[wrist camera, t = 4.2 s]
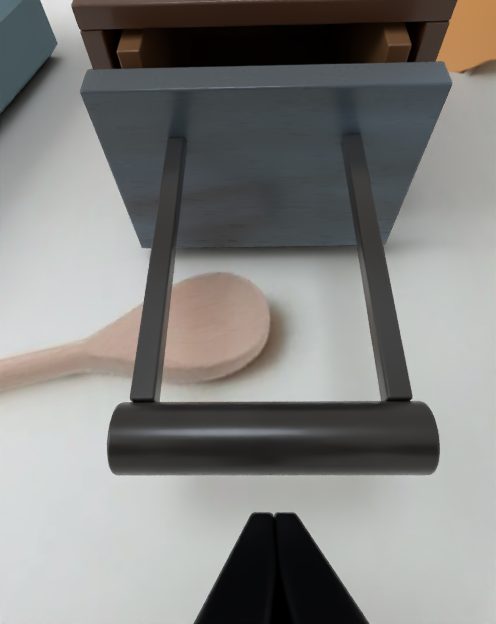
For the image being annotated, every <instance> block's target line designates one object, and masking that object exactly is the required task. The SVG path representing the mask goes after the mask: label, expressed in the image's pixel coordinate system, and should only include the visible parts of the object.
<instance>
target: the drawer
mask: <svg viewBox="0 0 496 624" xmlns="http://www.w3.org/2000/svg"><path fill="white" fill-rule="evenodd" d="M410 49H411V41H410V38H409V35H408V32H407V29H406V26H405V23H404V22H385V23H345V24H305V25H265V26H225V27H185V28H145V29H123V31H122V35H121V38H120V42H119V45H118V49H117V54H118V58H119V61H120V65H121V68H122V69H91V70H87V71H86V75H85V78H84V81H83V84H82V87H81V90H80V93H81V95H82V98H83V100H84V103H85V105H86V108H87V110H88V113H89V116H90V118H91V121H92V123H93V126H94V128H95V131H96V133H97V136H98V138H99V141H100V143H101V146H102V148H103V151H104V153H105V156H106V158H107V161H108V163H109V166H110V168H111V171H112V174H113V176H114V179H115V181H116V184H117V186H118V189H119V191H120V194H121V196H122V199H123V201H124V204H125V206H126V209H127V211H128V214H129V216H130V219H131V221H132V224H133V226H134V229H135V231H136V234H137V237H138V239H139V242H140V244H141V247H142V248H152V249H151V256H150V263H149V269H148V276H147V283H146V290H145V297H144V304H143V311H142V318H141V325H140V331H139V338H138V345H137V352H136V359H135V366H134V373H133V380H132V387H131V393H130V400H131V401H132V402H123V403H120V404H119V405H118V406H117V407H116V408H115V410H114V412H113V415H112V418H111V421H110V425H109V431H108V439H107V455H108V463H109V467H110V469H111V471H112V473H113V474H115V475H430V474H432V473H434V472H435V470H436V468H437V466H438V462H439V454H440V444H439V434H438V429H437V425H436V422H435V418H434V416H433V414H432V411H431V410H430V408H429V407H428V406H427V404H425V403H424V402H421V401H410V400H411V399H412V397H413V396H412V391H411V386H410V381H409V376H408V371H407V366H406V361H405V356H404V350H403V345H402V340H401V335H400V330H399V325H398V320H397V315H396V310H395V304H394V299H393V294H392V289H391V284H390V279H389V274H388V269H387V264H386V258H385V253H384V248H383V245H385V244H386V241H387V239H388V237H389V234H390V232H391V229H392V227H393V225H394V222H395V220H396V217H397V215H398V213H399V210H400V208H401V206H402V203H403V201H404V198H405V196H406V194H407V191H408V189H409V186H410V184H411V182H412V179H413V177H414V174H415V172H416V170H417V167H418V165H419V163H420V160H421V158H422V155H423V153H424V151H425V148H426V146H427V143H428V141H429V139H430V136H431V134H432V132H433V129H434V127H435V124H436V122H437V120H438V117H439V115H440V112H441V110H442V108H443V105H444V103H445V100H446V98H447V96H448V93H449V91H450V89H451V86H452V81H451V78H450V76H449V73H448V70H447V68H446V66H445V63H444V62H442V61H441V62H407V59H408V55H409V52H410ZM338 245H357V250H358V256H359V262H360V269H361V275H362V281H363V288H364V294H365V301H366V307H367V313H368V320H369V326H370V332H371V339H372V345H373V351H374V358H375V364H376V371H377V377H378V383H379V390H380V396H381V401H320V402H159V401H160V392H161V383H162V373H163V364H164V355H165V346H166V337H167V328H168V318H169V309H170V300H171V291H172V282H173V273H174V263H175V254H176V248H184V247H261V246H338Z"/></svg>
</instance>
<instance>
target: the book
mask: <svg viewBox="0 0 496 624" xmlns="http://www.w3.org/2000/svg"><path fill="white" fill-rule="evenodd" d="M56 45H57V41H56V39H55V36H54V34H53V31H52V29H51V26H50V24H49V21H48V19H47V16H46V14H45V11H44V9H43V6H42V4H41V2H40V0H0V114H1V113H2V112H3V111H4V110H5V108H6V107H7V106H8V105H9V104H10V102H11V101H12V100H13V99H14V98H15V97H16V95H17V94H18V93H19V92H20V91H21V90H22V88H23V87H24V86H25V85H26V84H27V82H28V81H29V80H30V79H31V78H32V77H33V75H34V74H35V73H36V72H37V71H38V70H39V68H40V67H41V66H42V65H43V64H44V62H45V61H46V60H47V59H48V58H49V57H50V55H51V54H52V52H53V50H54V49H55V47H56Z"/></svg>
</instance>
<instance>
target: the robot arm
mask: <svg viewBox="0 0 496 624" xmlns="http://www.w3.org/2000/svg"><path fill="white" fill-rule="evenodd" d="M194 624H369V622H368V621H367V619H366V618H365V616H364V615H363V613H362V612H361V610H360V609H359V607H358V606H357V604H356V603H355V601H354V600H353V598H352V597H351V595H350V594H349V592H348V591H347V589H346V588H345V586H344V585H343V583H342V582H341V580H340V579H339V577H338V576H337V574H336V573H335V571H334V570H333V568H332V567H331V565H330V564H329V562H328V561H327V559H326V558H325V556H324V555H323V553H322V552H321V550H320V549H319V547H318V546H317V544H316V543H315V541H314V540H313V538H312V537H311V535H310V534H309V532H308V531H307V529H306V528H305V526H304V525H303V523H302V522H301V520H300V519H299V517H298V516H297V514H295V513H293V512H277V513H275V515H274V516H273V514H272V513H270V512H254V513H252V514H251V515H250V517H249V519H248V521H247V523H246V525H245V527H244V529H243V530H242V532H241V534H240V536H239V538H238V540H237V542H236V544H235V546H234V548H233V549H232V551H231V553H230V555H229V557H228V559H227V561H226V563H225V565H224V567H223V569H222V570H221V572H220V574H219V576H218V578H217V580H216V582H215V584H214V586H213V588H212V590H211V591H210V593H209V595H208V597H207V599H206V601H205V603H204V605H203V607H202V609H201V610H200V612H199V614H198V616H197V618H196V620H195V622H194Z"/></svg>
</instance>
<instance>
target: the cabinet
mask: <svg viewBox="0 0 496 624" xmlns="http://www.w3.org/2000/svg"><path fill="white" fill-rule="evenodd" d="M456 2H457V0H73V2H72V10H73V13H74V15H75V18H76V21H77V24H78V27H79V29H80V30H81V36H82V39H83V41H84V44H85V47H86V50H87V53H88V56H89V59H90V61H91V64H92V67H93V69H122V68H121V65H120V61H119V58H118V54H117V49H118V45H119V42H120V38H121V35H122V31H123V29H145V28H185V27H225V26H265V25H305V24H345V23H385V22H404V23H405V26H406V29H407V32H408V35H409V38H410V41H411V49H410V52H409V55H408V59H407V62H435V61H436V59H437V56H438V53H439V50H440V48H441V45H442V42H443V39H444V37H445V34H446V31H447V28H448V26H449V20H450V19H451V16H452V13H453V11H454V8H455V5H456Z"/></svg>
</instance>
